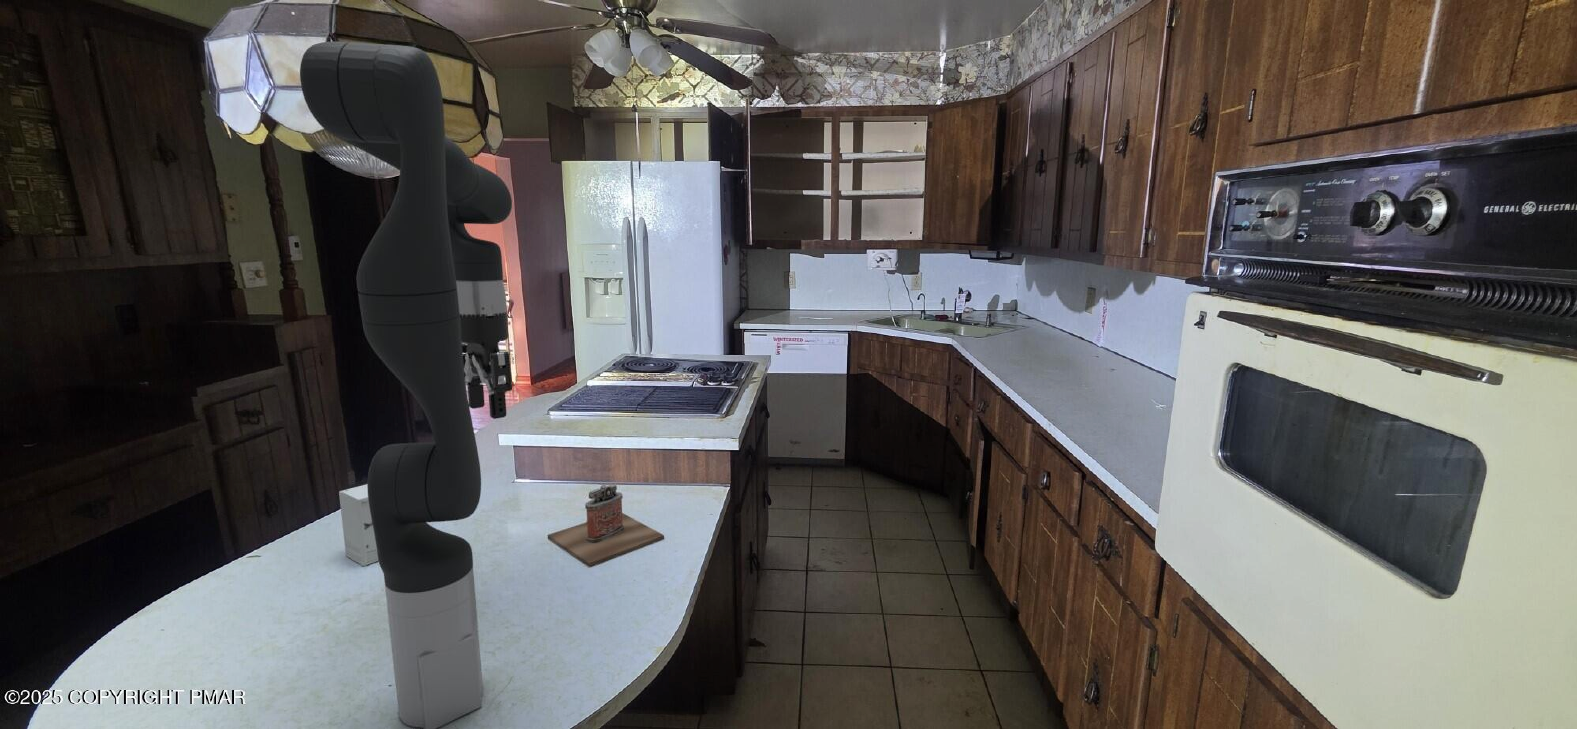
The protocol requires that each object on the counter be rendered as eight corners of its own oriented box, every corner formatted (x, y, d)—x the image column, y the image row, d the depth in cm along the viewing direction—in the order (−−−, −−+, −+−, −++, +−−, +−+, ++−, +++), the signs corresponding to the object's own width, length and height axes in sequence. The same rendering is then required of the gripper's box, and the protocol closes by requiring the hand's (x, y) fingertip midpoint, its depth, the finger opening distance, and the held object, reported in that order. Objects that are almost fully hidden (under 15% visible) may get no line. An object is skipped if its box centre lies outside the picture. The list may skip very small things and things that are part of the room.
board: (664, 539, 123) (664, 535, 123) (589, 567, 112) (589, 563, 112) (620, 515, 134) (619, 511, 134) (547, 538, 123) (547, 534, 123)
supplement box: (363, 567, 111) (356, 499, 109) (345, 556, 115) (337, 490, 113) (407, 551, 117) (401, 487, 115) (388, 541, 121) (382, 478, 119)
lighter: (616, 525, 127) (614, 478, 125) (627, 530, 125) (626, 482, 123) (582, 540, 121) (580, 490, 119) (594, 545, 119) (592, 494, 117)
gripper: (437, 308, 99) (445, 408, 102) (472, 315, 89) (480, 426, 92) (486, 305, 104) (493, 401, 107) (524, 312, 94) (530, 416, 97)
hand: (487, 412), depth 99 cm, fingers open, 8 cm apart
